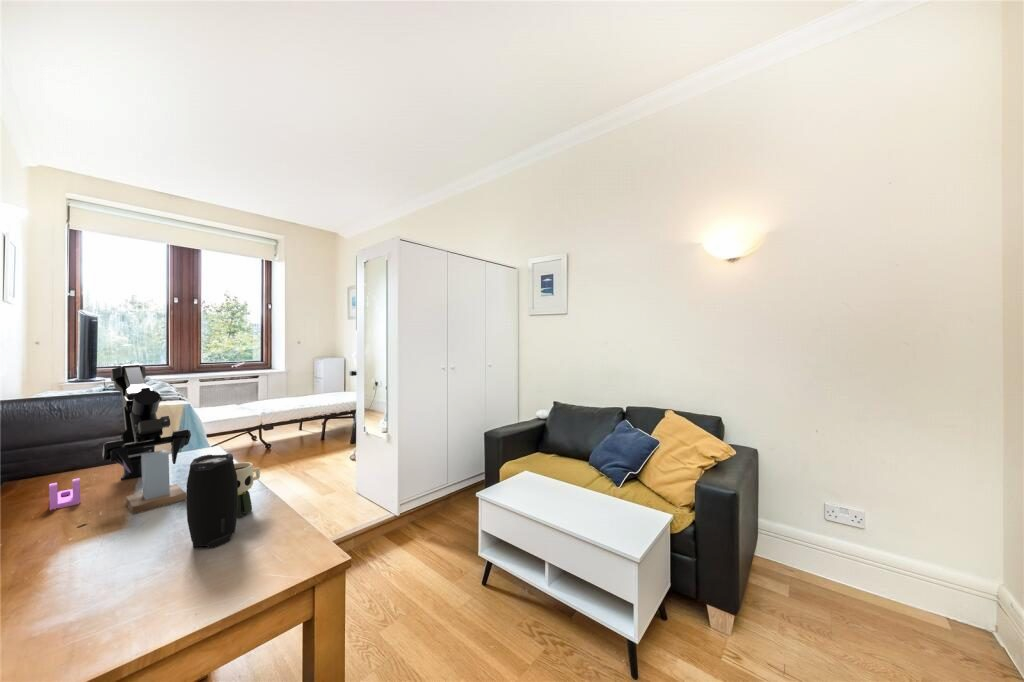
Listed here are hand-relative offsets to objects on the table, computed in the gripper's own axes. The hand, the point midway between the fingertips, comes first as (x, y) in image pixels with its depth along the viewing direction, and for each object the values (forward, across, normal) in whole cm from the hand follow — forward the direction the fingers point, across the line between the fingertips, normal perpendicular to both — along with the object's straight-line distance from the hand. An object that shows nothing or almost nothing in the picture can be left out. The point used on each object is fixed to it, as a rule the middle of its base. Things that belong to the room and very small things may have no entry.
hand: (153, 467), depth 109 cm
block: (+7, 0, +4) cm, 8 cm away
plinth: (+8, 0, +5) cm, 10 cm away
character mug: (+28, +11, -16) cm, 34 cm away
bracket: (-8, -16, +22) cm, 28 cm away
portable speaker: (+36, +4, -23) cm, 43 cm away
